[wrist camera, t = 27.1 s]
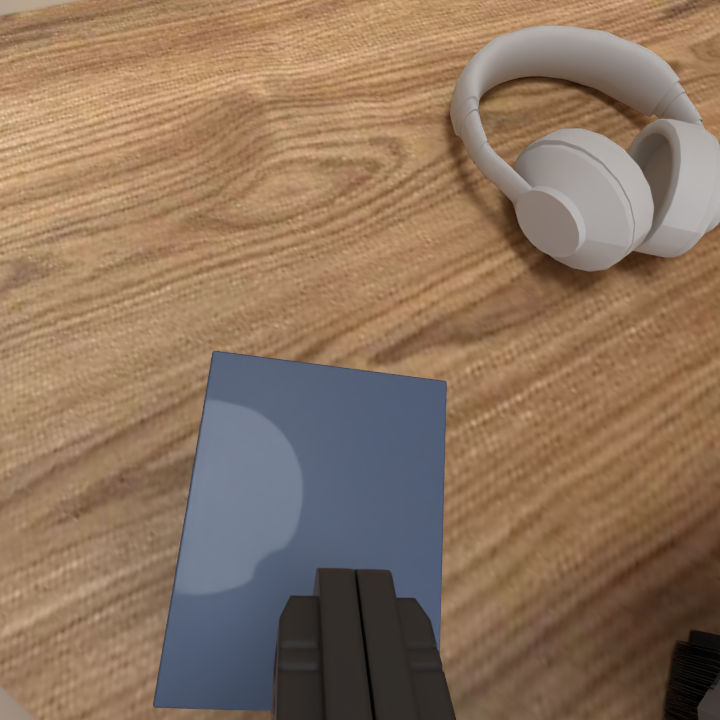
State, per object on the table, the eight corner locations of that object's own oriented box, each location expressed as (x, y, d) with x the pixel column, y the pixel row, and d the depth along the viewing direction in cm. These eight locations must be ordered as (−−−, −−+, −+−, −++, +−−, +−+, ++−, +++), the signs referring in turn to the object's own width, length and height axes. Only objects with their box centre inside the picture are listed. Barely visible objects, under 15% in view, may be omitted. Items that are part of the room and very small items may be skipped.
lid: (213, 355, 25) (212, 349, 24) (441, 385, 27) (447, 380, 26) (155, 701, 21) (152, 708, 20) (431, 710, 22) (438, 717, 22)
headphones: (723, 268, 41) (603, 79, 49) (817, 195, 34) (660, -12, 42) (505, 310, 37) (409, 94, 44) (562, 235, 30) (437, -6, 37)
